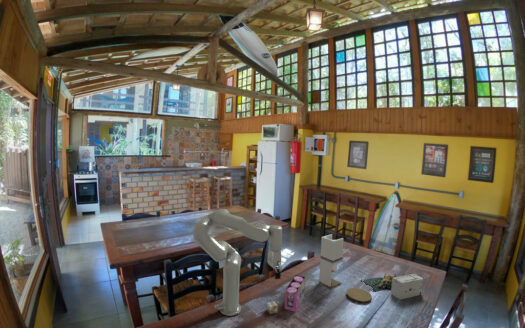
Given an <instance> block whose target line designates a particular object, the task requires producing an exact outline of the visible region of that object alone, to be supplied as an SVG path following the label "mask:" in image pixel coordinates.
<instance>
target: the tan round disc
mask: <svg viewBox="0 0 525 328" xmlns="http://www.w3.org/2000/svg"><path fill="white" fill-rule="evenodd" d="M345 295H346V297H347V299H349V300H350V301H352V302H353V303H356V304H358V305H359V304H361V305H367V304H370V303H372V300H373V296H372V294H371V293H370V292H369V291H367V290H365V289H363V288H359V287H351V288H348V289H347V290H346V294H345Z"/></svg>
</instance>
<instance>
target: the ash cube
mask: <svg viewBox="0 0 525 328" xmlns="http://www.w3.org/2000/svg"><path fill="white" fill-rule="evenodd" d="M278 306H279V305H278V304H277V303H276V302H275V300H274V301H269V302H267V307H266V309H267V311H268V313H269V314H270V315H272V314H277V313H278Z"/></svg>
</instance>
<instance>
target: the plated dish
mask: <svg viewBox="0 0 525 328" xmlns="http://www.w3.org/2000/svg"><path fill="white" fill-rule="evenodd" d="M396 275H397V272H395V273H394V275H392V274H390V275H389V274H386V273H384V276H383V277H382V276H381V277H380V276H379V277H372V278H370V277H369V278H364V279H365V280H364V281H363V282H364V283H365V284H366V285H369V286H371V287H372V288H373V289H372V290H373V291H372V290H370V291H371V292H372V293H377V292H381V291H386V290H389V291H391V287H392V278H394V277H397V276H396ZM366 279H367V280H366Z"/></svg>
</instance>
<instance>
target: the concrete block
mask: <svg viewBox="0 0 525 328" xmlns="http://www.w3.org/2000/svg"><path fill="white" fill-rule="evenodd" d="M401 272H402V273H404V271H401ZM405 274H406V275H400V276H396V277H394V278H392V287H391V290H390V292H391V293H390V294H391V295H392V296H393V297H394V298H396V299H398V300H404V299H409V298H413V297H417V296H421V295H422V291H423V282H424V278H423V277H422V276H419V275H418V274H416V273H413V274H409V273H406V272H405Z"/></svg>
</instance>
